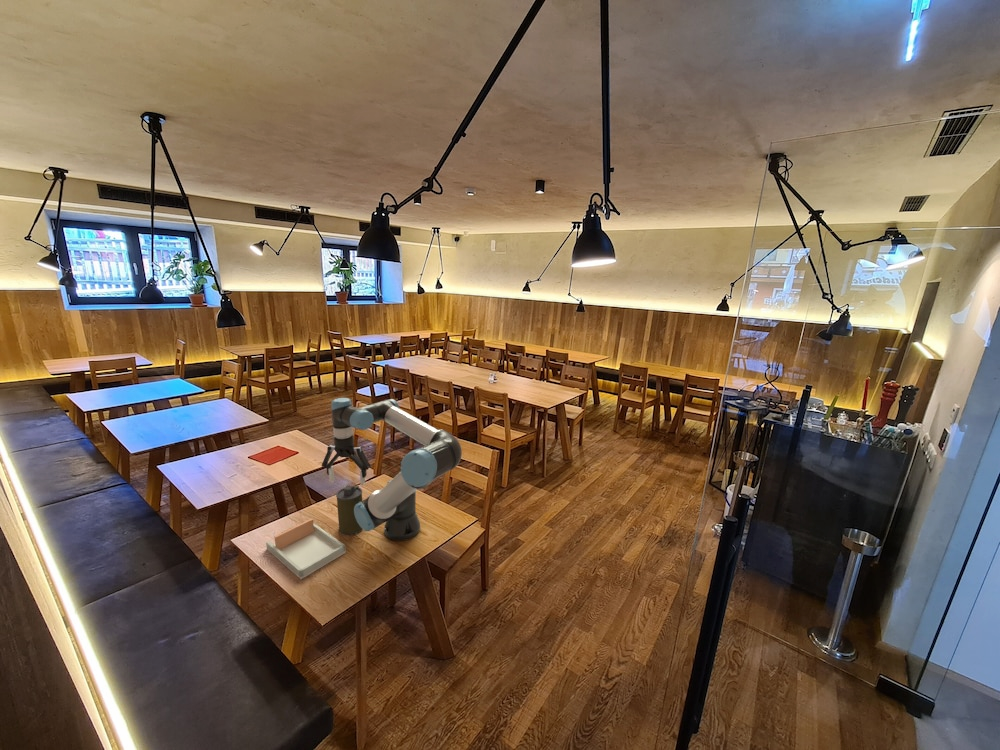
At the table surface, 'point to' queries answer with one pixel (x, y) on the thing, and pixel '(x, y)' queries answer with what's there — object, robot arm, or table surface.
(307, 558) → the white tray
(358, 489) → the canister
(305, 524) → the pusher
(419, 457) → the robot arm
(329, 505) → the table surface
